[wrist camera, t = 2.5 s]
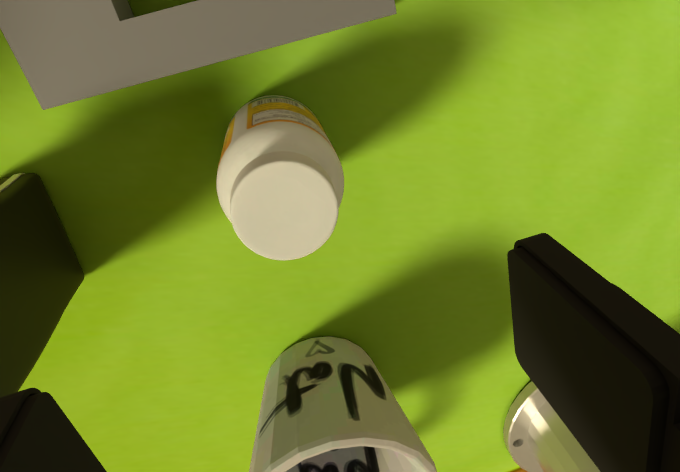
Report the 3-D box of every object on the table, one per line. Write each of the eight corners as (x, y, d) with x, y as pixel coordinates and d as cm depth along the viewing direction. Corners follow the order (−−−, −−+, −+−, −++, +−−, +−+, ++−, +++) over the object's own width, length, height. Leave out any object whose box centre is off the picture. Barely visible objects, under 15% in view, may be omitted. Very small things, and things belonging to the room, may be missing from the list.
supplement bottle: (282, 72, 25) (298, 107, 16) (343, 151, 27) (386, 219, 18) (202, 137, 25) (178, 204, 17) (268, 209, 28) (276, 300, 19)
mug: (386, 302, 32) (438, 417, 23) (402, 455, 39) (448, 590, 30) (228, 334, 31) (219, 468, 22) (273, 486, 38) (280, 635, 29)
